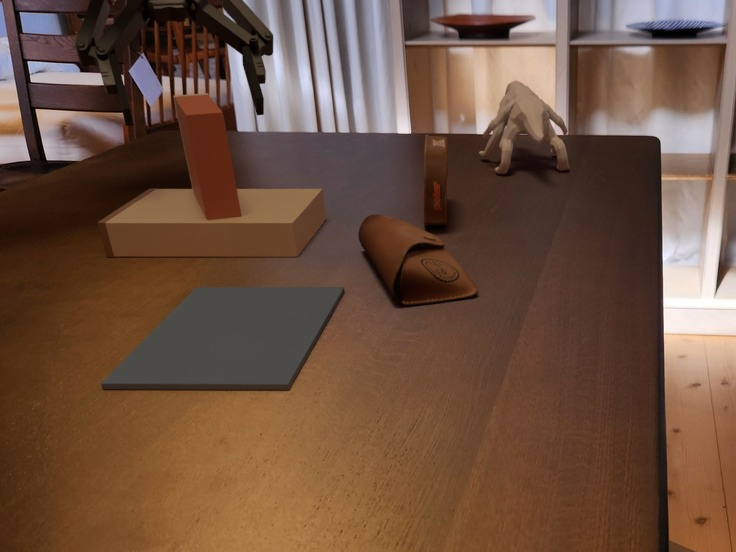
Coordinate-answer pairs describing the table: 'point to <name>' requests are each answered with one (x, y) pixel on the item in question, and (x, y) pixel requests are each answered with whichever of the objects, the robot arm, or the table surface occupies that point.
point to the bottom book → (214, 225)
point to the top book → (208, 155)
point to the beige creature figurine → (524, 125)
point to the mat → (230, 340)
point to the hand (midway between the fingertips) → (195, 112)
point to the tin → (435, 180)
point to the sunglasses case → (413, 262)
